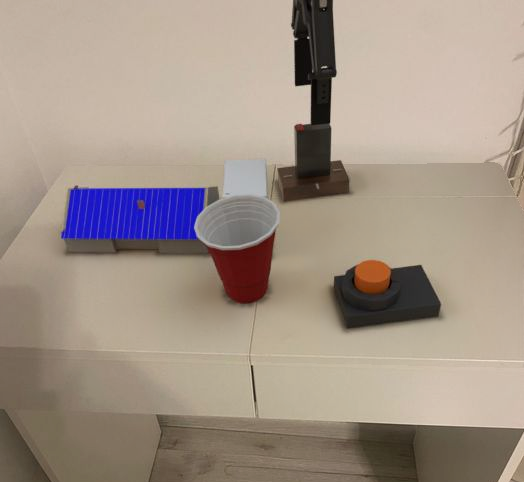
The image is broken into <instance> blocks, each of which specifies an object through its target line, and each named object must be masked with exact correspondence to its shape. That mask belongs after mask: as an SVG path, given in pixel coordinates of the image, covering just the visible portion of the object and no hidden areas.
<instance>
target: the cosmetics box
mask: <svg viewBox="0 0 524 482" xmlns="http://www.w3.org/2000/svg"><path fill="white" fill-rule="evenodd" d="M267 166H268V165H267V159H266V158H265V157H263V158H262V157H261V158H240V159H239V158H238V159H236V158H235V159H225V160H224V166H223V167H224V169H223V180H222V181H223V182H222V193H221V199H223V198H226V197H230V196H233V195H246V194H252V195H257V196H262V197H265V198H267V199H269V200H270V197H269V180H268V167H267Z"/></svg>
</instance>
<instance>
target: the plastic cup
mask: <svg viewBox="0 0 524 482" xmlns="http://www.w3.org/2000/svg"><path fill="white" fill-rule="evenodd" d="M280 218H281V211H280V209H279V208H278V205H277V204H276V202H274V201H272V200H270V198H269V199H267V198H265V197H262V196H257V195H252V194H246V195H233V196H230V197H226V198H223V199H222V198H220V200H218V201H216V202H214V203H212V204H211V205H209V206H207V207H206V208H205V209H204V210H203V211H202V212H201V213H200V214H199V215H198V216H197V219H196V222H195V225H194V229H195V232H196V235H197V237H198V239H199V240H201V241H202V242H203V243H204V244H205V246H206V247H207V249H208V251H209V252H208V253H209V254H210V256H211V258H212V262H213V264H214V267H215V270H216V272H217V274H218V277H219V279H220V281H221V282H222V285H223V287H224V290H225V293H226V295H227V296H228V298H229V299H231V301H233V302H235V303H239V304H251V303H255V302H257V301H259V300H261V299H263V298H264V296H265V295H266V294H267V292H268V291H267V290H268V288H269V281H270V276H271V270H272V269H271V268H272V261H273V252H274V245H275V244H274V243H275V240H276V239H275V238H276V233H277V229H278V228H279V224H280Z"/></svg>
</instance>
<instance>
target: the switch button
mask: <svg viewBox="0 0 524 482" xmlns="http://www.w3.org/2000/svg"><path fill="white" fill-rule="evenodd" d="M356 265H357V267H356V269H355V279H354V284H355V287H356V288H357V289H358V290H359V291H361V292H363V293H368V294H379V293H383V292H384V291H386V290H387V289H388V287H389V282H390V275H391V270H390V268H391V267H390V265H388V264H387V263H386V262H383V261H381V260H377V259H368V260H363V261H361V262H359V263H358V264H356ZM389 267H390V268H389Z"/></svg>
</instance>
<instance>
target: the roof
mask: <svg viewBox="0 0 524 482" xmlns="http://www.w3.org/2000/svg"><path fill="white" fill-rule="evenodd" d="M65 192H66V195H65V199H64V200H65V201H64V207H63V214H62V222H61V227H60V233H61V236H60V239H63V241H64V244H65V245H66V248H67V250H68V253H111V254H112V253H114V254H115V253H116V252H117V250H118V249H125V250H127V249H128V250H129V249H130V250H131V249H133V250H134V249H135V250H136V249H137V250H139V249H141V250H159V253H160V254H209V253H210V252H209V251H208V249H207V247H206V246H205V244H204V243H203V242H202V241H201V240H199V239H198V237H197V235H196V232H195V229H194V225H195V222H196V219H197V216H198V215H199V214H200V213H201V212H202V211H203V210H204V209H205V208H206V207H207V206H209V205H211V204H212V203H214V202H216V201H218V200H220V199H221V197H220V193H219V192H220V191H219V186H206V187H87V186H84V187H79V185H74V186H73V187H67V188H66V191H65Z"/></svg>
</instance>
